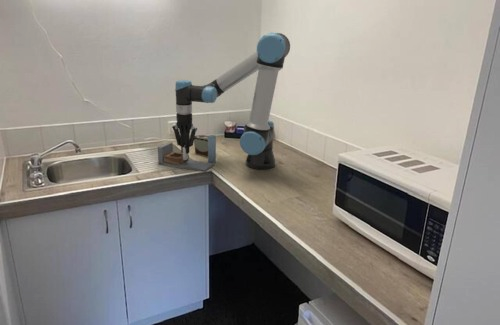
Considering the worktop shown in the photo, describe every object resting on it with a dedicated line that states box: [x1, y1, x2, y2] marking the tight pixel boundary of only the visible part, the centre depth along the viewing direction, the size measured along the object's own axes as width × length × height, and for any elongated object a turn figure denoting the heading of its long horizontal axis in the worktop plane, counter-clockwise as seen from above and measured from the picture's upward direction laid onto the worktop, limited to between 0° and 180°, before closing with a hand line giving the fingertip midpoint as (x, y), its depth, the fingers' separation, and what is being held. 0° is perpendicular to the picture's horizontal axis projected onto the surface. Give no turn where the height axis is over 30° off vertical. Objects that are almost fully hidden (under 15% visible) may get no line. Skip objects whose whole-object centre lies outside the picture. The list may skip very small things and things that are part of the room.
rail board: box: [157, 141, 215, 173], centre depth 189 cm, size 10×26×9 cm, turn 70°
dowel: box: [207, 134, 217, 164], centre depth 193 cm, size 4×4×14 cm
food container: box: [193, 134, 209, 158], centre depth 206 cm, size 12×6×10 cm, turn 58°
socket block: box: [164, 151, 190, 165], centre depth 191 cm, size 9×9×3 cm
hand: (185, 159), depth 190 cm, fingers closed
